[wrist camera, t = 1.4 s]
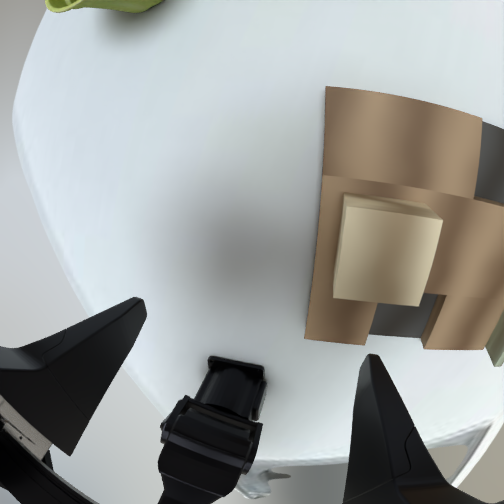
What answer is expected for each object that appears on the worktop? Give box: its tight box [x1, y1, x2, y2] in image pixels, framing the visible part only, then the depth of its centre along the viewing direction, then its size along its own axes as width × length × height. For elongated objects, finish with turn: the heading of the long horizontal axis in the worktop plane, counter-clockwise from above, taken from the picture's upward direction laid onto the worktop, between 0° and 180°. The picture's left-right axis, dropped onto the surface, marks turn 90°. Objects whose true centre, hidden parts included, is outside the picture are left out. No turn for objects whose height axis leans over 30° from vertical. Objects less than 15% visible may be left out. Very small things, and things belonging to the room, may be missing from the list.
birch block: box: [333, 192, 443, 306], centre depth 17 cm, size 6×6×4 cm
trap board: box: [304, 86, 504, 367], centre depth 17 cm, size 20×20×5 cm
